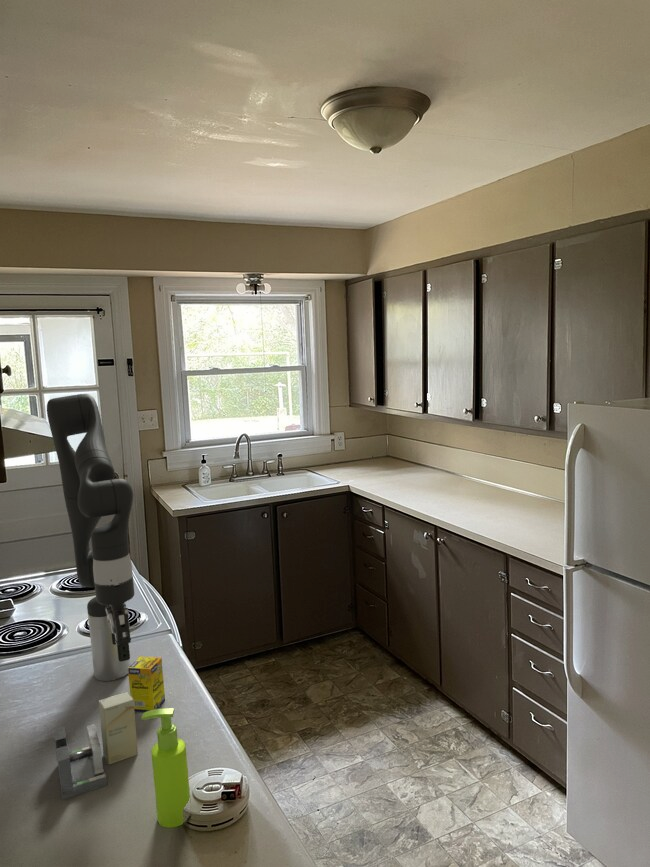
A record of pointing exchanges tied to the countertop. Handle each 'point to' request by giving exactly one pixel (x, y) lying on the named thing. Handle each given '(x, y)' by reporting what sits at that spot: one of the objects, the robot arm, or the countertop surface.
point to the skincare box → (118, 727)
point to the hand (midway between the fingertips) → (121, 651)
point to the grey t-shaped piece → (91, 751)
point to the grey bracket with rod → (75, 769)
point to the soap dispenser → (169, 770)
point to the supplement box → (146, 683)
